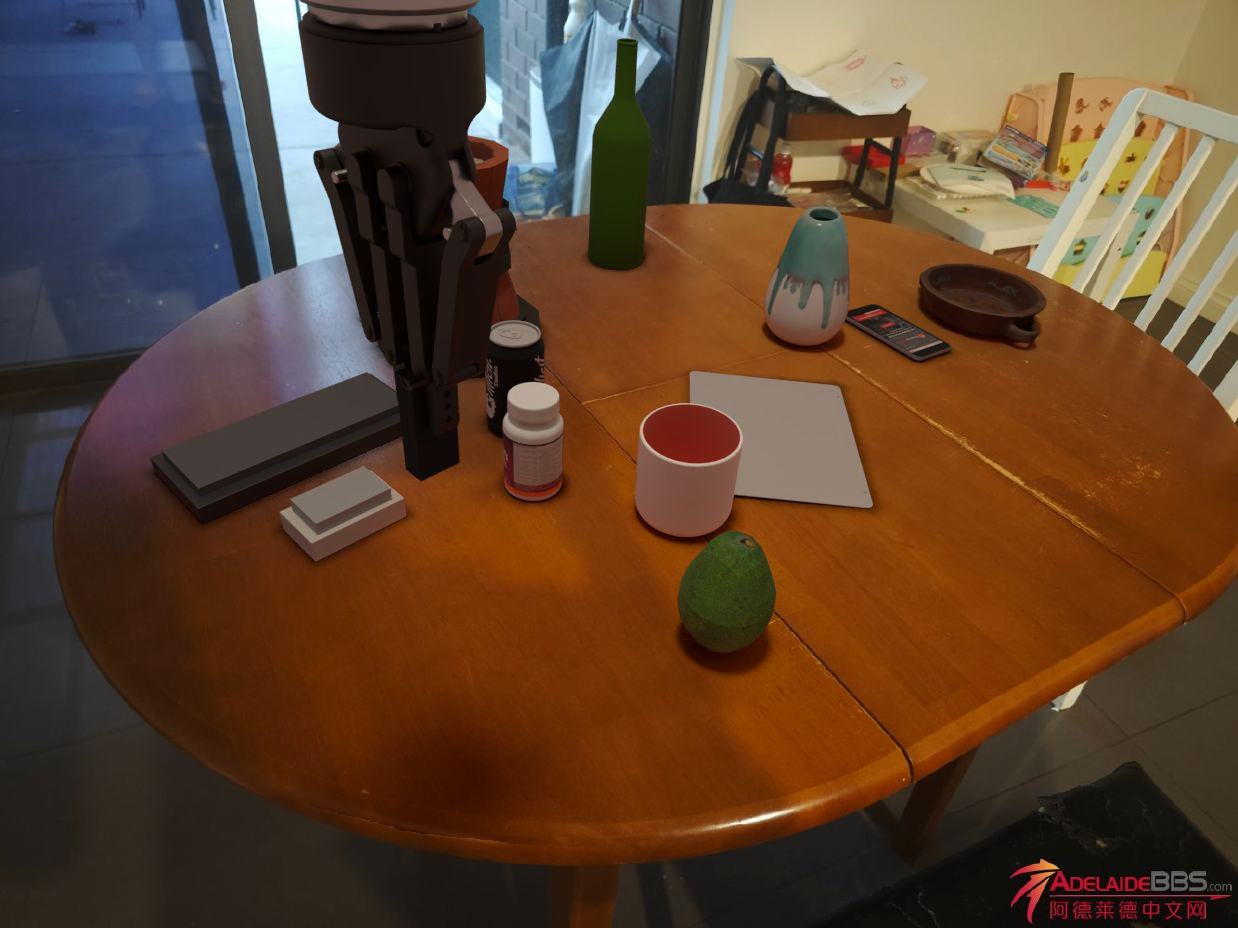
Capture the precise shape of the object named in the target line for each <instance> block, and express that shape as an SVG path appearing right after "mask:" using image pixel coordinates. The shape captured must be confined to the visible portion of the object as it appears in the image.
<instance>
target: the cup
mask: <svg viewBox="0 0 1238 928" xmlns="http://www.w3.org/2000/svg"><path fill="white" fill-rule="evenodd" d="M742 445H743V434H742V431H741V429H740V427H739V426H738V424H737V423H736V422H735V421H734V420H733V419H732V418H731V417H729V416H728V415H726V414H725V413H723V412H721V411H719V410H717V409H714V408H711V407H708V406H704V405H699V404H690V402H689V403H688V402H685V403H684V402H683V403H682V402H681V403H674V404H673V403H672V404H668V405H663V406H661V407H659V408H656V409H654V410H653V411H651V412H650V413H649V414H647V415H646V416H645V417H644V418H643V420H642V422H641V424H640V426H639V435H638V445H637V446H638V447H637V459H636V474H635V488H634V489H635V490H634V503H635V507H636V510H637V511H638V513H639V515H640V516H641V518H642V519H643V520H644V521H645V523H647V524H648V525H649V526H651V527H652V528H654V529H655V530H657V531H658V532H661V533H663V534H666V535H669V536H673V537H680V538H695V537H701V536H705V535H708V534H711V533H712V532H714V531H716V530H717V529H719V528H720V527H721V526H723V525H724V524H725V522H726V521H727V520H728V518H729V516H730V514H731V512H732V508H733V503H734V497H735V495H734V492H735V486H736V480H737V474H738V468H739V463H740V457H741V451H742Z"/></svg>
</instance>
